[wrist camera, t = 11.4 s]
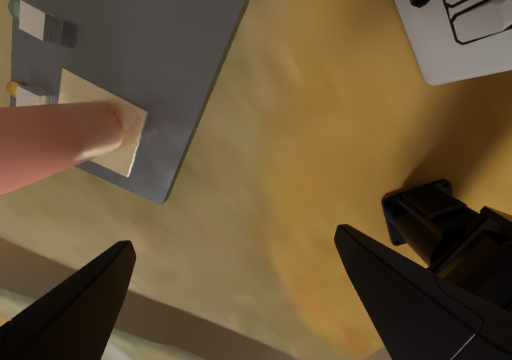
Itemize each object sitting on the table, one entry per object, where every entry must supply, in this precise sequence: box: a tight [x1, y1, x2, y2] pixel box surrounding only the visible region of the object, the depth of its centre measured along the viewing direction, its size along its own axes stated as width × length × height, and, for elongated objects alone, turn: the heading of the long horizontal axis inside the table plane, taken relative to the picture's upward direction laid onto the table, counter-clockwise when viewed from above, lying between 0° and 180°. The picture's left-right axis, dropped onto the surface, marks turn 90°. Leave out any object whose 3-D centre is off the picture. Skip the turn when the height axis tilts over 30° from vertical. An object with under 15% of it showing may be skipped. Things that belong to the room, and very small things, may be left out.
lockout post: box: [0, 102, 123, 195], centre depth 13 cm, size 4×4×11 cm
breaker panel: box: [6, 0, 249, 205], centre depth 16 cm, size 15×24×3 cm, turn 152°
